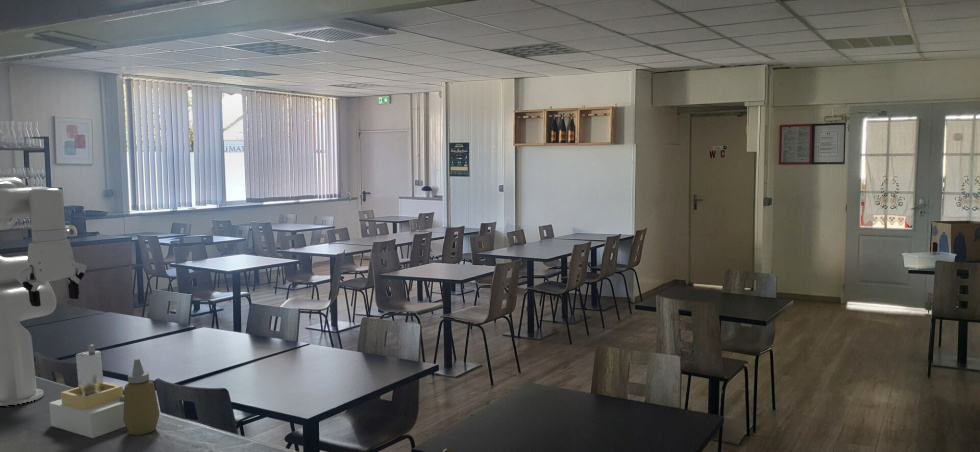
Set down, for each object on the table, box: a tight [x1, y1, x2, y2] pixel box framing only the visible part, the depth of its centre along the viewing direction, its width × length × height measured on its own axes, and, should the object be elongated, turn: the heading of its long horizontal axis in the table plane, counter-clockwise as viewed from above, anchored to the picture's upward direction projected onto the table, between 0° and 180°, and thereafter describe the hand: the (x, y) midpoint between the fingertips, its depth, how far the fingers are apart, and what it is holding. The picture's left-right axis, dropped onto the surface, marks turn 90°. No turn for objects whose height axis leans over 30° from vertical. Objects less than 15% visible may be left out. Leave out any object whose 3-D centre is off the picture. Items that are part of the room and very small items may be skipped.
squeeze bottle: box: [123, 358, 161, 436], centre depth 180 cm, size 8×8×18 cm
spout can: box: [75, 343, 104, 396], centre depth 186 cm, size 6×6×14 cm
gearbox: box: [48, 381, 126, 439], centre depth 187 cm, size 18×12×9 cm, turn 59°
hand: (55, 302), depth 190 cm, fingers open, 9 cm apart
